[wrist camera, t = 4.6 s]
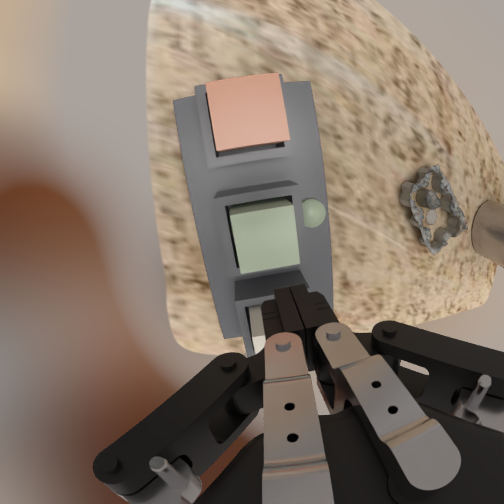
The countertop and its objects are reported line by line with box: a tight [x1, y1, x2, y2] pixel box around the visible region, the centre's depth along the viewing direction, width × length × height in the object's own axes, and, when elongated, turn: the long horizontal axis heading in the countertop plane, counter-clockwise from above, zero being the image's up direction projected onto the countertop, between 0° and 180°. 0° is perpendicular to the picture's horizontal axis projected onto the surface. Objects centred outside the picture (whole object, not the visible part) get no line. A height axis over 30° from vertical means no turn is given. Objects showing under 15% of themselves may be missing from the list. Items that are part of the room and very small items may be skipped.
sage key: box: [230, 196, 300, 274], centre depth 25 cm, size 5×5×6 cm
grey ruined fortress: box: [399, 164, 468, 255], centre depth 29 cm, size 11×8×4 cm
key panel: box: [173, 74, 333, 357], centre depth 27 cm, size 14×28×6 cm, turn 9°
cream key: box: [249, 304, 266, 354], centre depth 26 cm, size 5×5×6 cm
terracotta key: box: [205, 73, 290, 152], centre depth 19 cm, size 5×5×6 cm
